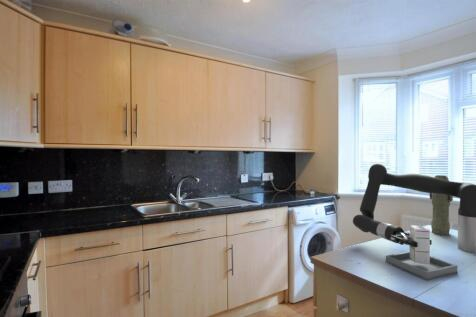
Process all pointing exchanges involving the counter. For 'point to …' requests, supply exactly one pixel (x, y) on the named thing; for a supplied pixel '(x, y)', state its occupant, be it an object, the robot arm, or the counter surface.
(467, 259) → the counter surface
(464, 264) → the counter surface
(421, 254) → the syrup box
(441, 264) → the slate tray
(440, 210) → the thermos
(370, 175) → the robot arm
